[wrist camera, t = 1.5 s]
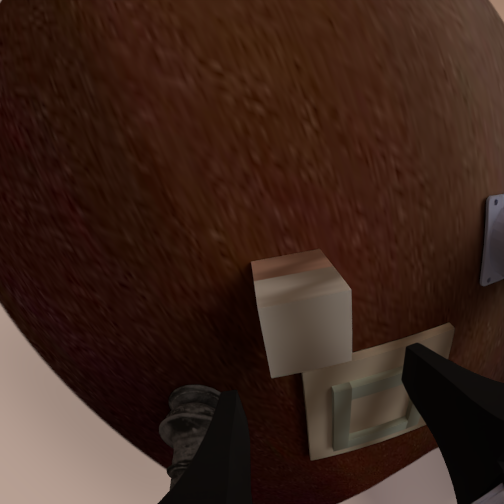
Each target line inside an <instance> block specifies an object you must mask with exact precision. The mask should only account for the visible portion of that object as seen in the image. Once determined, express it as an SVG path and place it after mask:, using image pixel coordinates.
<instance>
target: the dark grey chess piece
mask: <svg viewBox="0 0 504 504" xmlns="http://www.w3.org/2000/svg"><path fill="white" fill-rule="evenodd" d="M220 393H221V392H219V391H217V390H215V389H214V388H210V387H207V386H203V385H186V386H182V387H180V388H177V389H175V390H174V391H173V392H172V393H171V395H170V397H169V406H170V409H171V412H170V413H169V414H168V415H167V416H166V418H165V419H164V420H163V421H162V422H161V424H160V426H159V434H160V436H161V438H162V439H163V440H164V441H165V443H166V444H168V445H169V446H171V447H172V448H174V455H173V461H172V465H171V466H169V467H168V468H167V474H168V475H169V477H171V484H170V490H171V489H172V487H173V486H174V485H175V484H176V482H177V481H178V480H179V478H180V477H181V476H182V474H183V473H184V471H185V470H186V469H187V467H188V465H189V464H190V462H191V461H192V459H193V457H194V456H195V454H196V452H197V450H198V448H199V446H200V444H201V442H202V440H203V438H204V436H205V434H206V432H207V429H208V427H209V425H210V422H211V420H212V417H213V415H214V412H215V409H216V406H217V403H218V399H219V395H220Z"/></svg>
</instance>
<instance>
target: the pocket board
mask: <svg viewBox="0 0 504 504" xmlns="http://www.w3.org/2000/svg"><path fill="white" fill-rule="evenodd" d="M454 330H455V328H454V327H453V326H452V325H451V324H450V323H446V324H443V325H441V326H438V327H435V328H432V329H429V330H427V331H424V332H421V333H418V334H415V335H412V336H408V337H405V338H402V339H399V340H396V341H392V342H389V343H386V344H382V345H379V346H375V347H372V348H368V349H365V350H361V351H357V352H353V353H352V361H348V362H344V363H340V364H336V365H332V366H328V367H324V368H319V369H315V370H310V371H306V372H301V375H302V384H303V394H304V403H305V413H306V423H307V433H308V444H309V454H310V459H311V460H316V459H320V458H325V457H329V456H333V455H337V454H341V453H345V452H348V451H352V450H355V449H359V448H362V447H365V446H369V445H372V444H375V443H378V442H381V441H384V440H387V439H390V438H393V437H395V436H398V435H401V434H403V433H406V432H409V431H411V430H414V429H416V428H419V427H421V426H424V425H426V423H425V421H424V420H423V418H422V417H421V415H420V414H419V412H418V411H417V409H416V407H415V406H414V404H413V403H412V401H411V400H410V398H409V396H408V394H407V392H406V390H405V387H404V385H403V383H402V381H401V378H402V371H403V364H404V357H405V349H406V346H409V345H411V344H414V343H417V342H418V343H420V344H422V345H424V346H425V347H427V348H429V349H431V350H432V351H434V352H436V353H438V354H439V355H441V356H443V357H444V358H446V359H448V357H449V353H450V349H451V344H452V340H453V335H454Z"/></svg>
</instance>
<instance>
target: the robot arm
mask: <svg viewBox="0 0 504 504" xmlns="http://www.w3.org/2000/svg"><path fill="white" fill-rule="evenodd" d="M494 201H495V203H494ZM502 279H504V194H500V195H494V196H489V197H488V198H487V200H486V221H485V237H484V249H483V259H482V267H481V275H480V285H482V286H486V285H489V284H492V283H494V282H497V281H499V280H502ZM401 381H402V383H403V385H404V387H405V390H406V392H407V394H408V396H409V398H410V400H411V401H412V403H413V404H414V406H415V407H416V409H417V411H418V412H419V414H420V415H421V417H422V418H423V420H424V421H425V423H426V425H427V426H428V428H429V429H430V431H431V433H432V434H433V436H434V438H435V440H436V442H437V444H438V446H439V449H440V451H441V453H442V456H443V458H444V461H445V463H446V466H447V468H448V471H449V474H450V477H451V480H452V484H453V487H454V491H455V495H456V499H457V504H504V383H501V382H497V381H494V380H491V379H489V378H486V377H483V376H481V375H478V374H476V373H474V372H471V371H469V370H467V369H465V368H463V367H461V366H459V365H457V364H455V363H453V362H452V361H450V360H448V359H446V358H444V357H443V356H441V355H439V354H438V353H436V352H434V351H432V350H431V349H429V348H427V347H425V346H424V345H422V344H420V343H418V342H417V343H414V344H411V345H409V346H406V349H405V357H404V364H403V371H402V378H401ZM158 504H252V497H251V483H250V438H249V430H248V423H247V418H246V415H245V412H244V410H243V407H242V404H241V401H240V398H239V395H238V392H237V390H231V391H225V392H221V393H220V395H219V399H218V403H217V406H216V409H215V412H214V415H213V417H212V420H211V422H210V425H209V427H208V429H207V432H206V434H205V436H204V438H203V440H202V442H201V444H200V446H199V448H198V450H197V452H196V454H195V456H194V457H193V459H192V461H191V462H190V464H189V465H188V467H187V469H186V470H185V471H184V473H183V474H182V476H181V477H180V478H179V480H178V481H177V482H176V484H175V485H174V486H173V487H172V489H171V490H170V491H169V492H168V493H167V494H166V495H165V496H164V497H163V499H162V500H161V501H160V502H159V503H158Z"/></svg>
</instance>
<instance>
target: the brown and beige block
mask: <svg viewBox="0 0 504 504" xmlns="http://www.w3.org/2000/svg"><path fill="white" fill-rule="evenodd" d="M251 265H252V272H253V279H254V287H255V294H256V301H257V308H258V313H259V318H260V323H261V329H262V334H263V339H264V344H265V349H266V354H267V359H268V364H269V369H270V374H271V378H275V377H281V376H286V375H291V374H296V373H301V372H306V371H310V370H315V369H319V368H324V367H328V366H332V365H336V364H340V363H344V362H348V361H352V299H351V289H350V287H349V286H348V285H347V283H346V282H345V281H344V279H343V278H342V277H341V276H340V274H339V273H338V272H337V270H336V269H335V268H334V266H333V265H332V264H331V263H330V261H329V260H328V259H327V258H326V256H325V255H324V254H323V252H322V251H321V250H320V249H317V250H311V251H306V252H301V253H295V254H290V255H285V256H279V257H274V258H269V259H263V260H258V261H252V262H251Z"/></svg>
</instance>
